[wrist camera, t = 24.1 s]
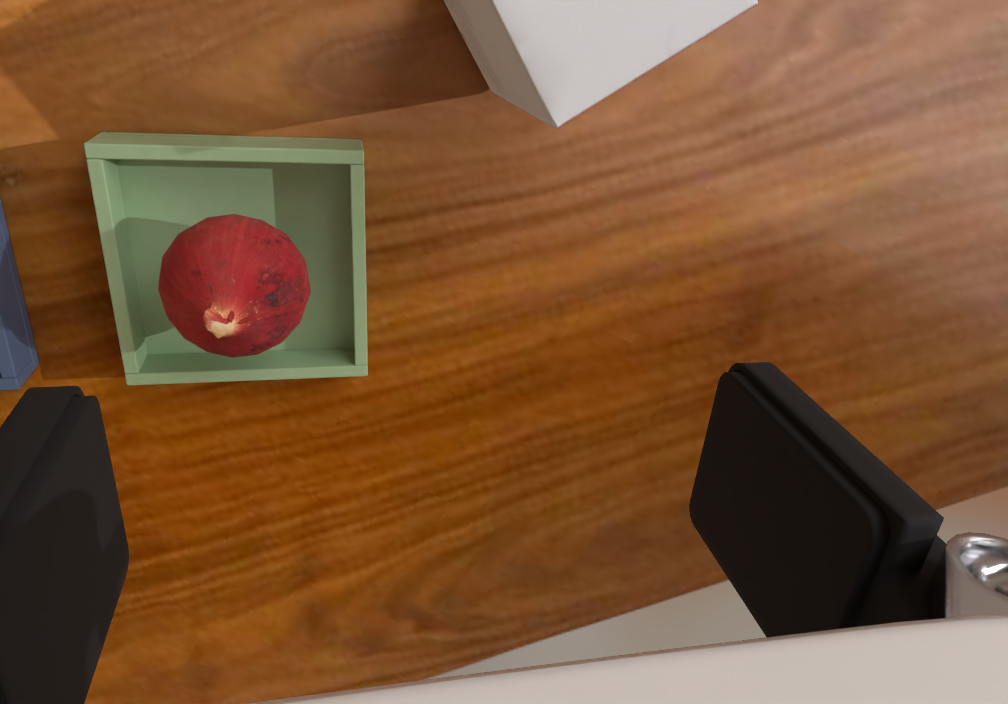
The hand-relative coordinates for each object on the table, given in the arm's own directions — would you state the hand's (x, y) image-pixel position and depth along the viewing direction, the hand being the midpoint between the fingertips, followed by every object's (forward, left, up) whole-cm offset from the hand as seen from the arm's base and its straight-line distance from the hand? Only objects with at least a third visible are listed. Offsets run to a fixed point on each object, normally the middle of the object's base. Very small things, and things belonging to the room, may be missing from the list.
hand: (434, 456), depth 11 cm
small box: (-7, +8, -25) cm, 27 cm away
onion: (+5, -5, -25) cm, 26 cm away
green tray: (+5, -5, -25) cm, 26 cm away
